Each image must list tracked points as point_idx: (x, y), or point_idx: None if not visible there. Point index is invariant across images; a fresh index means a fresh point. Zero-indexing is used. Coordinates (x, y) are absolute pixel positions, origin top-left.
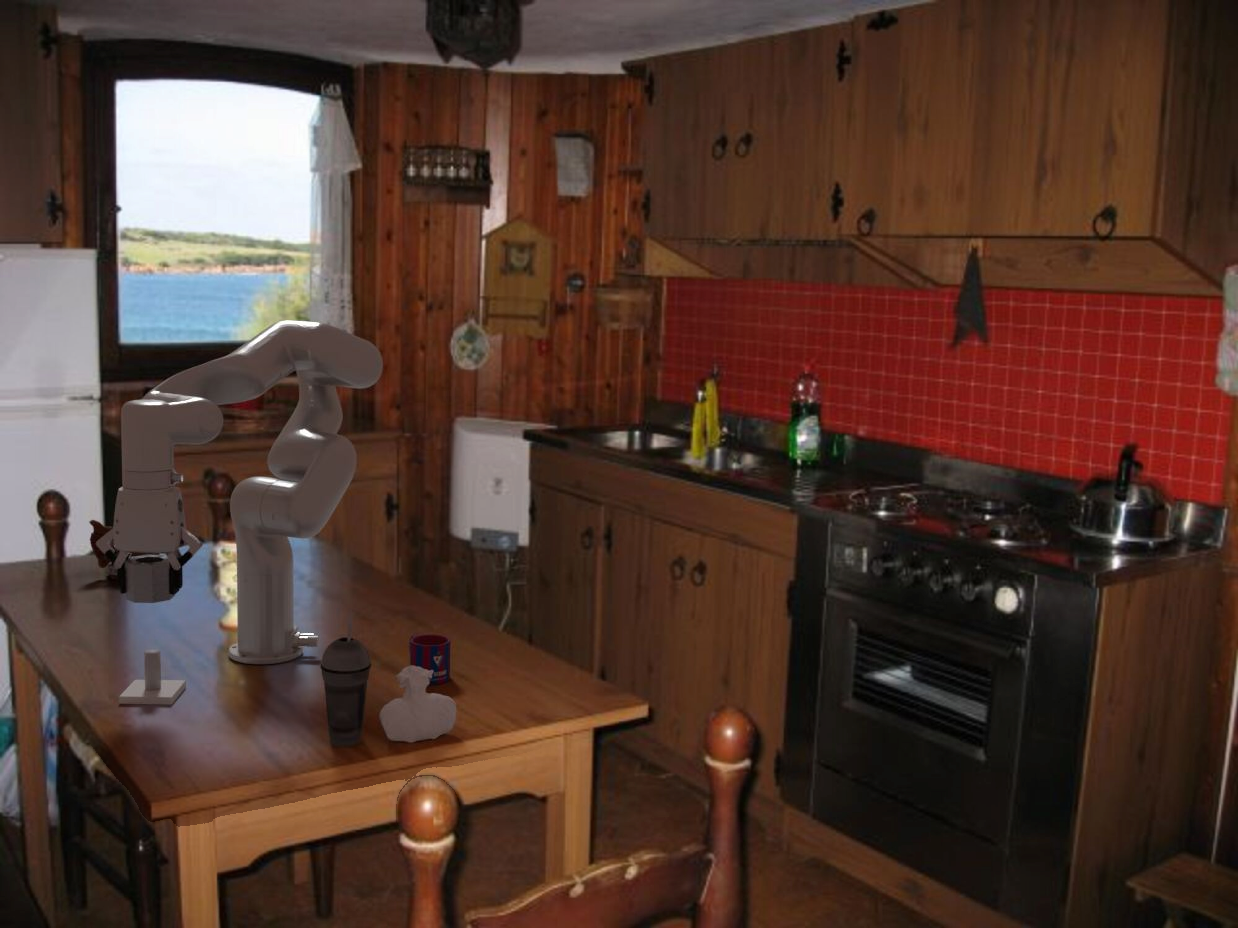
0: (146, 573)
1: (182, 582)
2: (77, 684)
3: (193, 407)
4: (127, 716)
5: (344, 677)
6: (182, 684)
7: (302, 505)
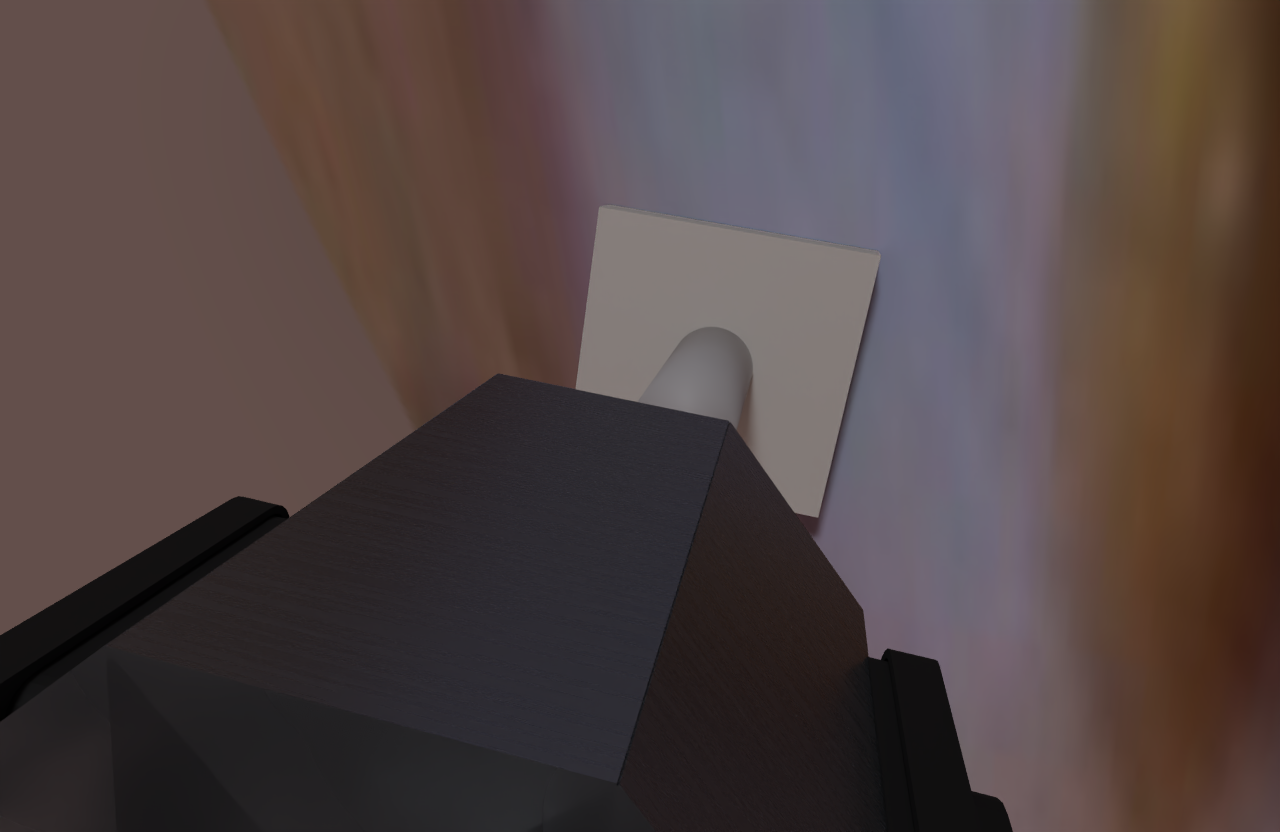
0: None
1: (1006, 828)
2: (321, 132)
3: None
4: None
5: None
6: (864, 321)
7: None
